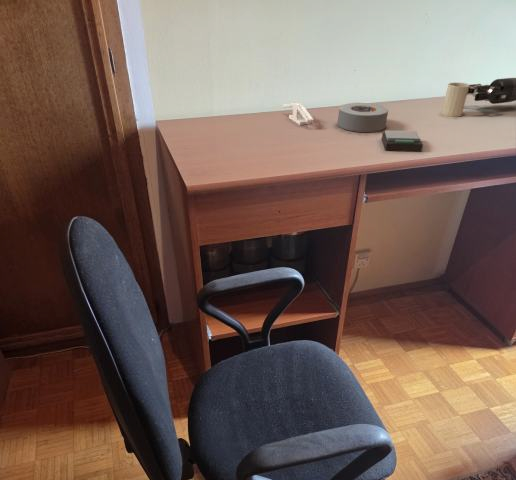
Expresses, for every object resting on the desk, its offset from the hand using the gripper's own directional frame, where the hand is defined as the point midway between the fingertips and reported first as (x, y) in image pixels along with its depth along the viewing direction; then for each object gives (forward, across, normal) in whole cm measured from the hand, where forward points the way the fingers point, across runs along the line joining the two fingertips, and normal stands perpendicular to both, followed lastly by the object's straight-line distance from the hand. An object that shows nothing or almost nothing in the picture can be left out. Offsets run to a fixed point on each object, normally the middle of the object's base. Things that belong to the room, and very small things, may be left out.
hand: (467, 94), depth 152 cm
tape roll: (+40, +1, +6) cm, 41 cm away
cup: (+4, 0, +6) cm, 7 cm away
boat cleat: (+57, -11, +6) cm, 58 cm away
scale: (+39, +22, +6) cm, 45 cm away
